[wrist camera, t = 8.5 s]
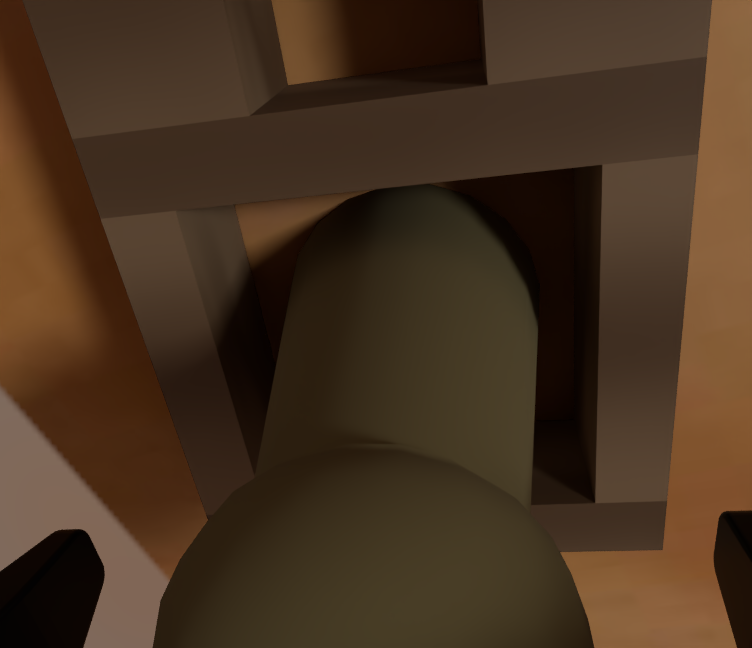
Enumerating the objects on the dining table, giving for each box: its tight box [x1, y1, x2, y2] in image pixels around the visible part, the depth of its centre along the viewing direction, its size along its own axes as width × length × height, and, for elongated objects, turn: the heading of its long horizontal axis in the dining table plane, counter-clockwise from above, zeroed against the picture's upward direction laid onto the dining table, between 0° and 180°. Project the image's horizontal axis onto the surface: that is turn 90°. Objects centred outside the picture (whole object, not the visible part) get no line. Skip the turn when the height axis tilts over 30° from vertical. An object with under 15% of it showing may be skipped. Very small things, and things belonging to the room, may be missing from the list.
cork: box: [153, 184, 594, 648], centre depth 11 cm, size 6×6×11 cm
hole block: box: [22, 0, 712, 552], centre depth 13 cm, size 16×11×3 cm, turn 8°
